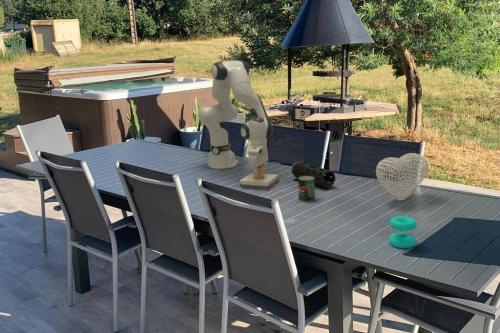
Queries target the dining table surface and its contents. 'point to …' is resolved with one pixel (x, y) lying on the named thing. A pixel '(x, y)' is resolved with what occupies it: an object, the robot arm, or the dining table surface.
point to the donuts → (403, 238)
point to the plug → (260, 172)
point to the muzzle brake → (314, 174)
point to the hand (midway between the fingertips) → (259, 172)
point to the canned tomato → (306, 188)
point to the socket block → (259, 181)
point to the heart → (379, 174)
